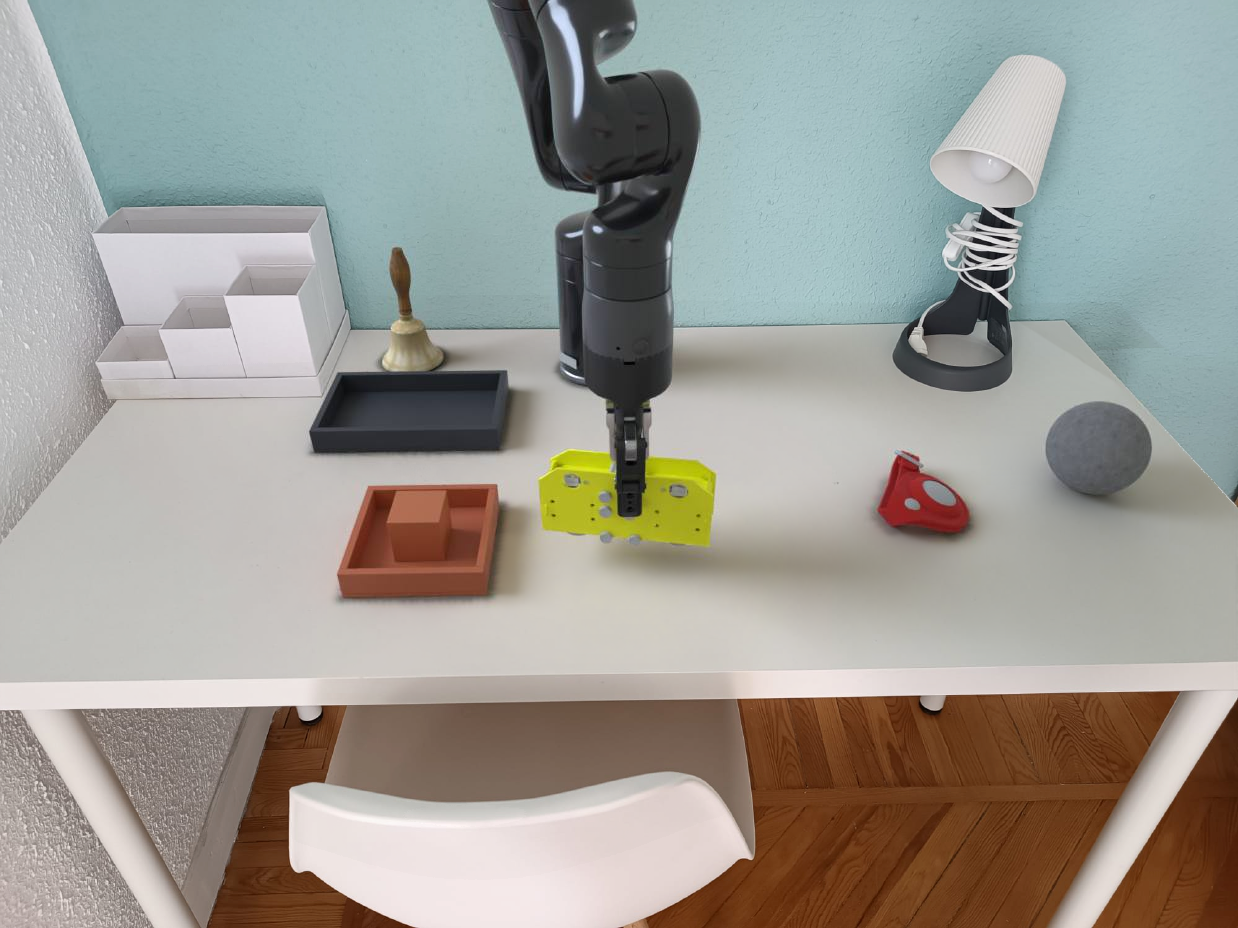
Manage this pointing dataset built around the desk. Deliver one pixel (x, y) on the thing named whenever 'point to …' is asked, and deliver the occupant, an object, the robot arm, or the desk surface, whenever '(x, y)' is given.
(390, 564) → the terracotta tray
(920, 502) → the tracker holder
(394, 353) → the hand bell
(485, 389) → the charcoal tray
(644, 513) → the yellow toy chassis
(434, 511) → the terracotta block
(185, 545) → the desk surface
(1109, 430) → the decorative ball
